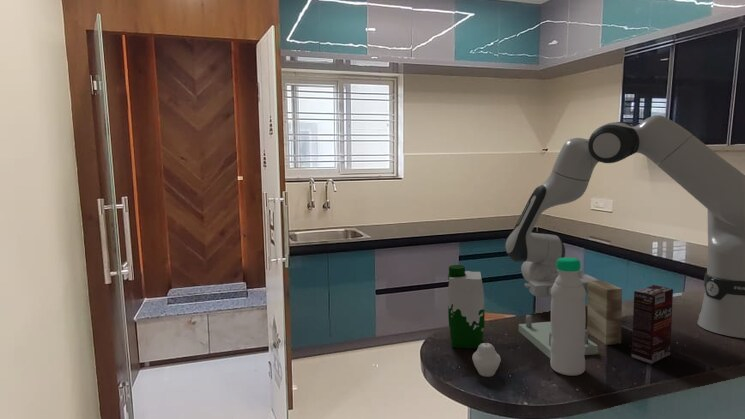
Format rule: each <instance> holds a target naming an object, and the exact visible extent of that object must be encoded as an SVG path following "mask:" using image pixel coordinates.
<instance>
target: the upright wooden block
mask: <svg viewBox="0 0 745 419" xmlns="http://www.w3.org/2000/svg"><path fill="white" fill-rule="evenodd" d="M598 280H599V279H598ZM622 304H623V288H621V287H618V286H617V285H615V284H611V283H609V282H608V281H605V280H602V279H601V280H599V281H588V293H587V316H586V317H587V321H586V323H587V325H586V328H587V329H586V330H588V331H589V335H590V336H592V337H593V336H594V337H593V338H595V339H596V338H597V339H596V340H598V341H599V340H600V342H601V343H602V344H604V345H606V346H607V345H617V343H619V344H621V343H622V317H623V315H622V314H623V313H622V312H623V311H622V310H623V308H622Z"/></svg>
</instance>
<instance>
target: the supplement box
mask: <svg viewBox="0 0 745 419" xmlns="http://www.w3.org/2000/svg"><path fill="white" fill-rule="evenodd" d="M673 295H674V289H673V288H670V287H666V286H659V285H654V284H653V285H651V286H647V287H644V288H642V289H638V290H634V291H633V311H632V312H633V314H632V315H633V316H632V317H633V319H632V337H631V338H632V339H631V341H632V342H631V357H632V358H633V359H636V360H639V361H642V362H643V363H648V364H650V365H651V364H654V363H655V362H658V361H659V360H662V359H663V358H666V357H668V356H670V355H671V348H672V347H671V346H672V342H671V340H672V324H673V321H672V319H673V301H674V300H673V297H674V296H673Z"/></svg>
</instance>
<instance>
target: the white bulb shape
mask: <svg viewBox="0 0 745 419" xmlns="http://www.w3.org/2000/svg"><path fill="white" fill-rule="evenodd" d="M471 358H472V362H473V365H474V368H475V369H476V370H477V372H478V374H479V376H482V377H485V378H488V377H493V376H494V375H495V374H496V372H497V370H498V368H499V367H500V363H501V361H502V359H501V356H500V354H499V353H497V350H495V347H494V345H493V344H491V343H489V342H482V344H480V345H479V346H478V349H477V348H476V351H474V352H473V354H472V357H471Z"/></svg>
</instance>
